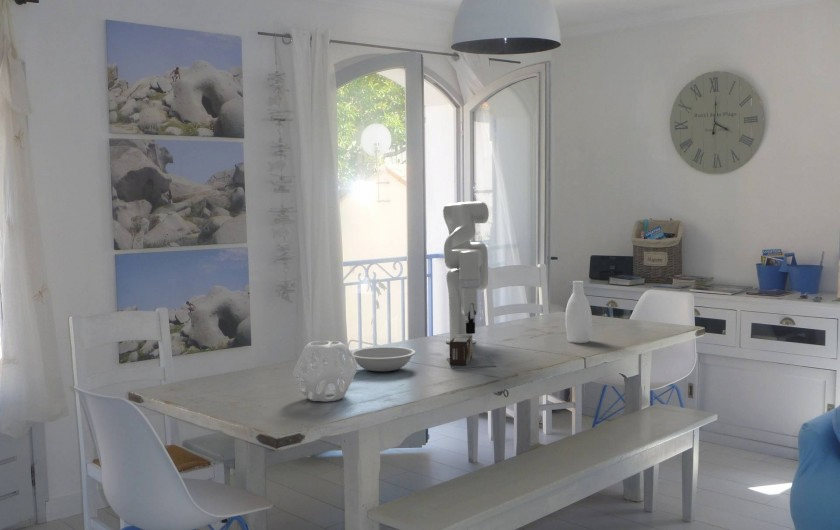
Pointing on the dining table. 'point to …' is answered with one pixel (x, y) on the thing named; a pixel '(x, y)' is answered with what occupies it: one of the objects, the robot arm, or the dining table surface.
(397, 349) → the soup bowl
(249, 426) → the dining table surface
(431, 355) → the dining table surface
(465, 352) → the coffee box
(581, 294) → the bottle
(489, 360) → the slate mat
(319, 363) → the decorative ball
